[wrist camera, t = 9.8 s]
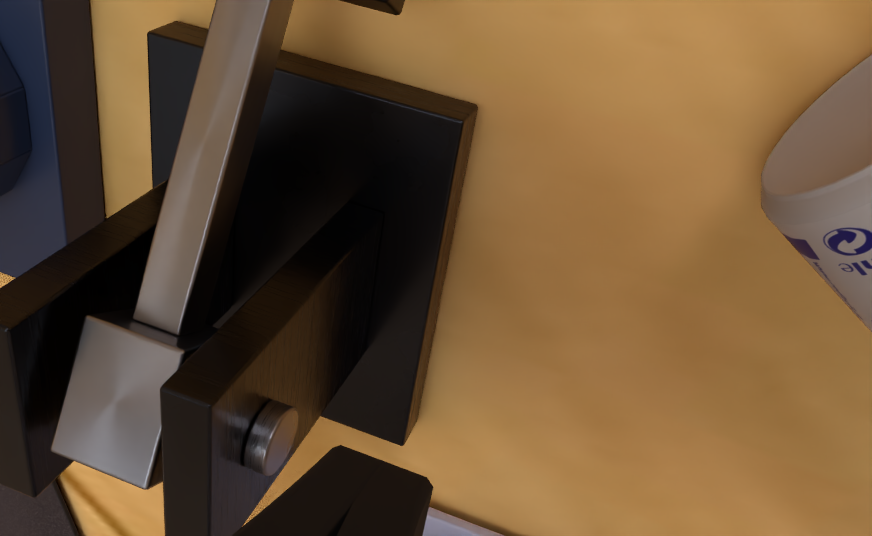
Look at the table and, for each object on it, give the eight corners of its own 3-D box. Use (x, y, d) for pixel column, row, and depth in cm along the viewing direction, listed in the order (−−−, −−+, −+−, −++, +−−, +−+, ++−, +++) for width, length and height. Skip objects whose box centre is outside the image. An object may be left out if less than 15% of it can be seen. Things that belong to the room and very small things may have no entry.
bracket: (175, 19, 20) (-144, 143, 13) (479, 104, 19) (305, 296, 12) (180, 334, 26) (-44, 544, 19) (417, 420, 24) (272, 686, 17)
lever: (183, -83, 17) (115, -133, 15) (424, -23, 16) (392, -66, 14) (57, 399, 19) (-24, 422, 16) (277, 486, 17) (224, 524, 15)
